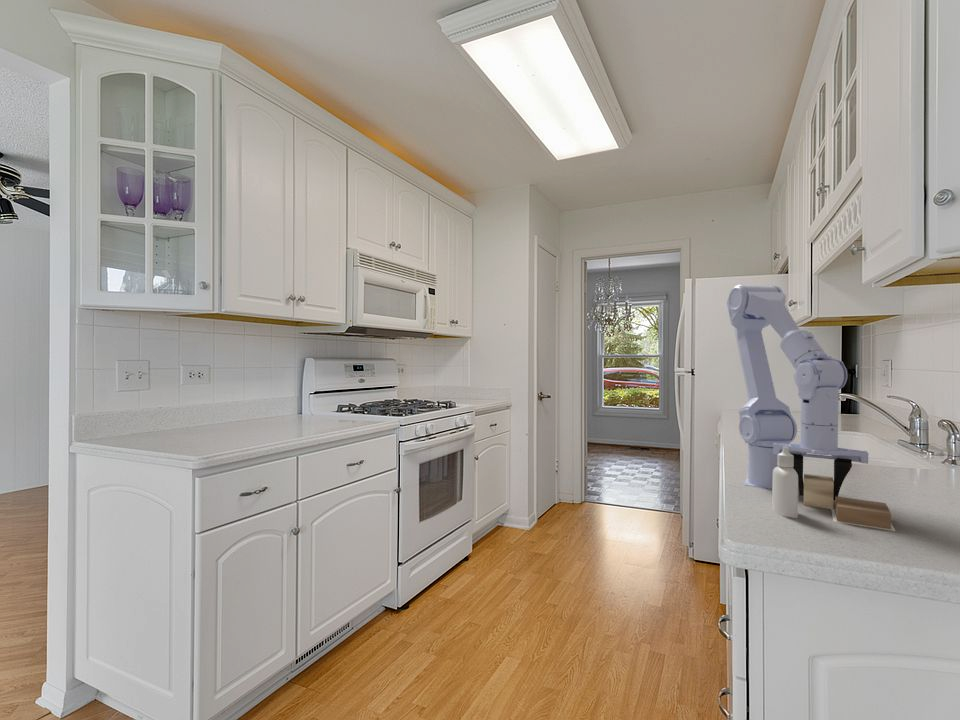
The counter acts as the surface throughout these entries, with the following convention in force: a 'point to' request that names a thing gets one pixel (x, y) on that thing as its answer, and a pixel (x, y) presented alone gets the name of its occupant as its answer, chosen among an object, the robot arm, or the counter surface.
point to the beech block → (818, 491)
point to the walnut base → (862, 512)
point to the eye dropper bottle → (785, 486)
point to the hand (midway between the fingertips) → (818, 496)
